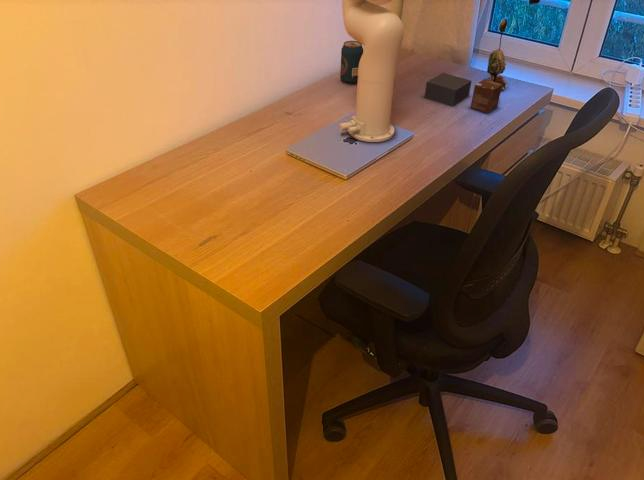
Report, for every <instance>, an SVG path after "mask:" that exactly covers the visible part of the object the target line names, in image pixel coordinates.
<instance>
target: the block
mask: <svg viewBox="0 0 644 480" xmlns="http://www.w3.org/2000/svg"><path fill="white" fill-rule="evenodd" d="M471 87H472V80H471V79H467V78H464V77H460V76H456V75H454V74H450V73H446V72H441V73H440V74H438V75H436V76H433V78H431V79H429V80H427V81H426V84H425V91H424V99H428V100H431V101H433V102H434V101H436V102H439V103H441V104H444V105H446V106H451V107H455V106H456V105H457V104H460V103H461V102H462V101H464V100H465V99H467V98H469V96H470V91H471Z"/></svg>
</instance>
